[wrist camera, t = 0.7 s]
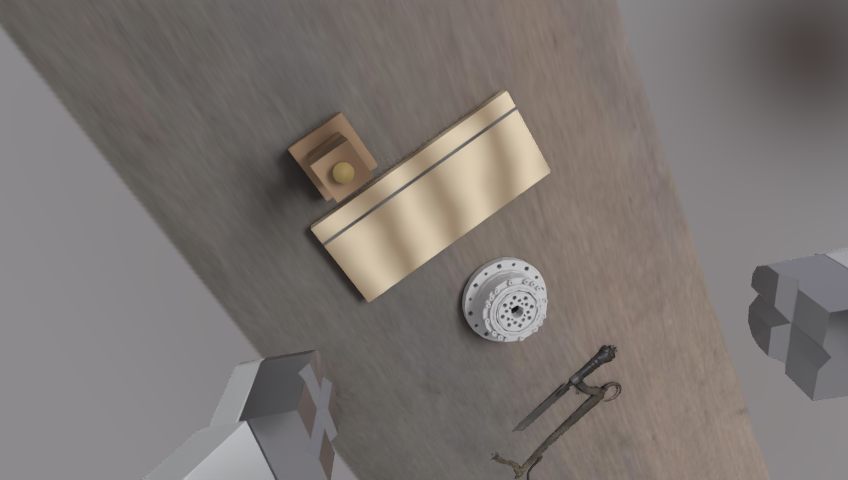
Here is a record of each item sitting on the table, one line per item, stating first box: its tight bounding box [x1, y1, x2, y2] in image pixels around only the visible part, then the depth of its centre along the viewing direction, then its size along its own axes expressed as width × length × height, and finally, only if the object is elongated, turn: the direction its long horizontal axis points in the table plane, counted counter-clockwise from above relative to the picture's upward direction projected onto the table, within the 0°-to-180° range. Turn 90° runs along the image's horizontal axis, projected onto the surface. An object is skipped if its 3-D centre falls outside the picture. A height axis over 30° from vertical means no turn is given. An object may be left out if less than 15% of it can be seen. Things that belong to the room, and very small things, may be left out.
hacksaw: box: [491, 345, 622, 480], centre depth 66 cm, size 24×10×2 cm, turn 131°
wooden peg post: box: [288, 112, 378, 203], centre depth 44 cm, size 6×6×13 cm
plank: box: [311, 91, 551, 302], centre depth 53 cm, size 24×10×2 cm, turn 123°
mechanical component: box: [462, 257, 548, 342], centre depth 57 cm, size 10×4×10 cm
